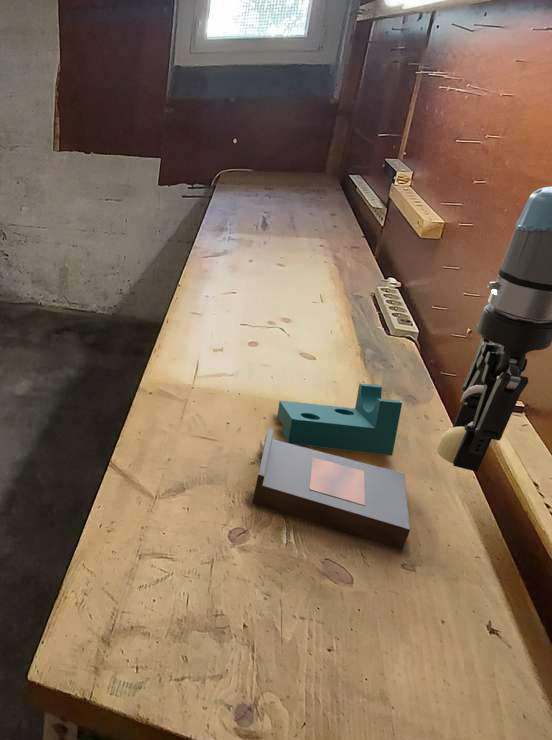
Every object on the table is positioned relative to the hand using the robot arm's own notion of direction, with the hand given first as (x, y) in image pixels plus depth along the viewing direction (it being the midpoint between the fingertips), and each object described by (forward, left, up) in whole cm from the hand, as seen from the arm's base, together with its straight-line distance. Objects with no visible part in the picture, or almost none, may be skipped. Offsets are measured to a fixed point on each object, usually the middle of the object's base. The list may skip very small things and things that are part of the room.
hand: (461, 454), depth 82 cm
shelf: (+15, -2, -17) cm, 22 cm away
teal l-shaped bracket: (+15, -22, -17) cm, 32 cm away
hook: (0, 0, 0) cm, 1 cm away
